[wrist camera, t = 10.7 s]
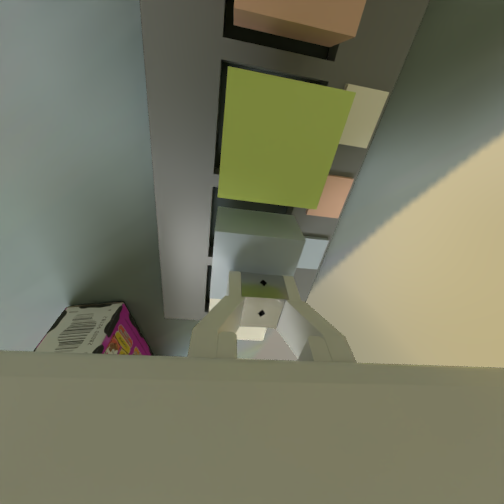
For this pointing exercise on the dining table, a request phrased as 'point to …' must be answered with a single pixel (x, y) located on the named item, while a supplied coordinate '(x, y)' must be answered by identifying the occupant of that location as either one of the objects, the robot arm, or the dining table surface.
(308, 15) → the salmon cube
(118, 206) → the dining table surface
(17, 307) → the dining table surface
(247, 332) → the key ivory
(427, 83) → the dining table surface
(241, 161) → the lime green cube
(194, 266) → the keypad board
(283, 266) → the key slate
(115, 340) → the candy bar box
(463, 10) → the dining table surface
